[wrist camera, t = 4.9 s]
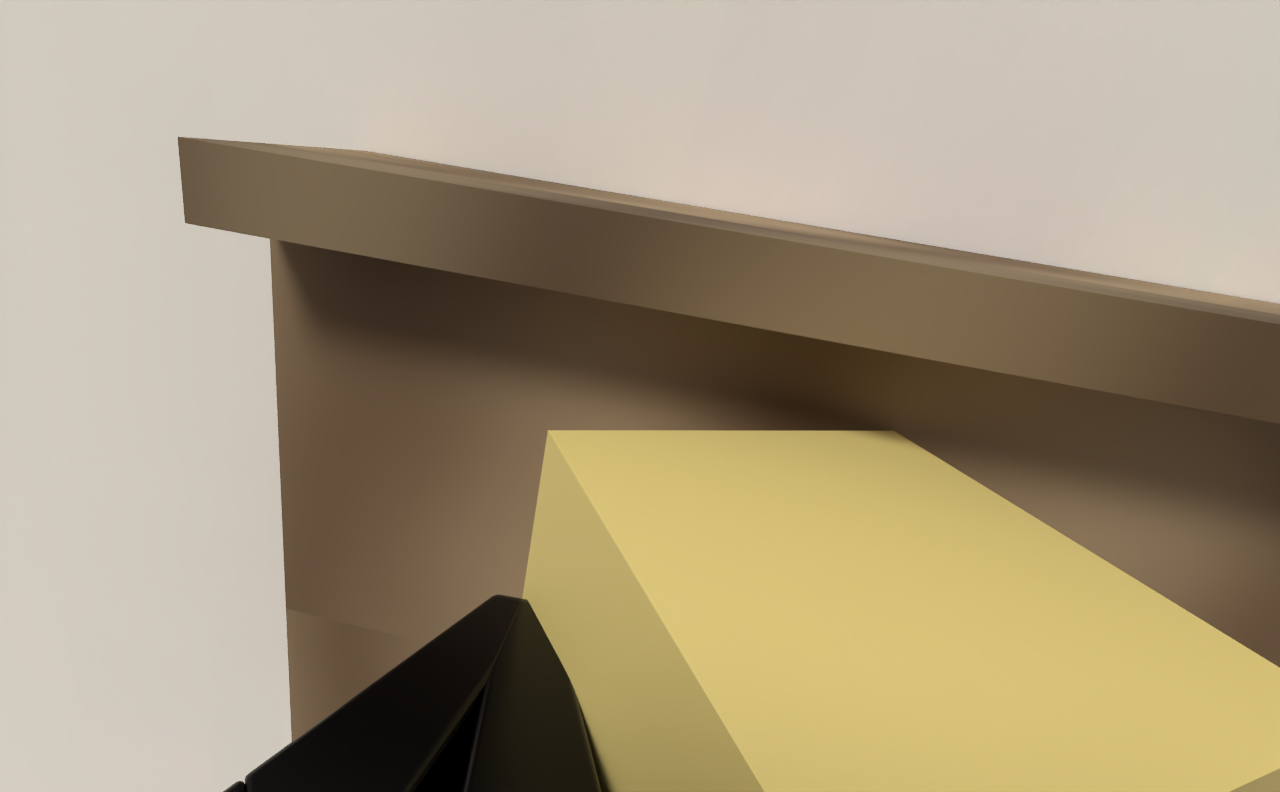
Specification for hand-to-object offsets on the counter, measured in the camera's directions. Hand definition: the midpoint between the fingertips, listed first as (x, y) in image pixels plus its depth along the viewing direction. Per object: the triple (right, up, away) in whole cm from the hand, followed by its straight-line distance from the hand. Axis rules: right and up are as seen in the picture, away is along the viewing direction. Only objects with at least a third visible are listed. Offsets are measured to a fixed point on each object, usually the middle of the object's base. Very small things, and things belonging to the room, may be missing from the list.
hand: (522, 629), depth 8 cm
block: (+2, 0, +1) cm, 2 cm away
